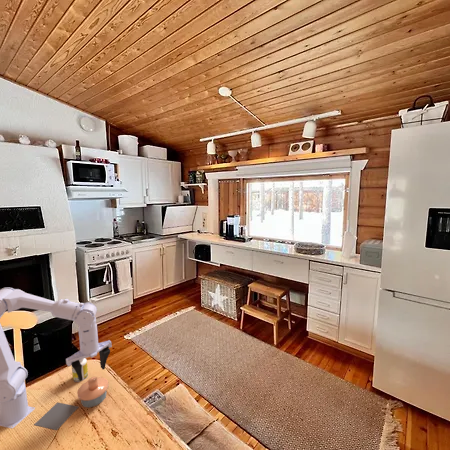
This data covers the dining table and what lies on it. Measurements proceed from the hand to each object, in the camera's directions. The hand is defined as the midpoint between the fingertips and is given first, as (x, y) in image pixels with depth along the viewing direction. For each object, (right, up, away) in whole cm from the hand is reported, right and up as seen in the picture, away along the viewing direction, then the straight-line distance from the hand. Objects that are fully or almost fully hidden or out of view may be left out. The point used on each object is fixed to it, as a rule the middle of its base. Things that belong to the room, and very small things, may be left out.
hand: (91, 373), depth 92 cm
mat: (-9, -11, -6) cm, 15 cm away
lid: (0, -6, +1) cm, 6 cm away
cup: (0, -10, +1) cm, 10 cm away
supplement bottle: (-11, -9, +12) cm, 19 cm away
